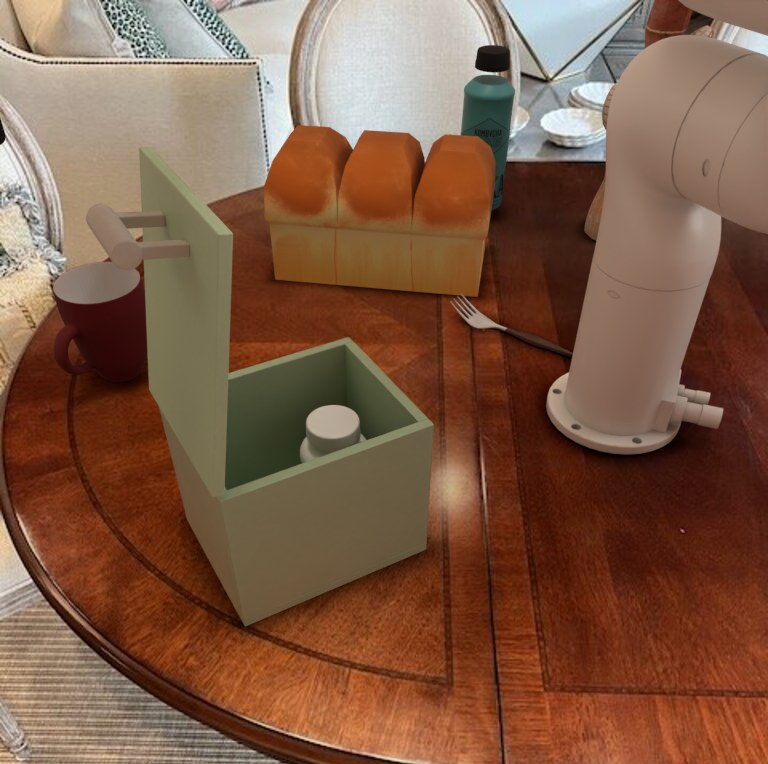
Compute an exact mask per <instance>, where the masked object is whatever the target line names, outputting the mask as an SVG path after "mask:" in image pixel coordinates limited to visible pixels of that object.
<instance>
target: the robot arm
mask: <svg viewBox="0 0 768 764" xmlns="http://www.w3.org/2000/svg"><path fill="white" fill-rule="evenodd" d="M678 1H680V2H681V3H682V4H683V5H685V6H686V7H688V8H690V9H692V10H693V12H696V13H698V14H701V15H703V16H706V17H709V18H711V19H714V20H717V21H719V22H722V23H724V24H728V25H730V26H731V25H732V26H735V27H738V28H741V29H744V30H747V31H750V32H754V33H757V34H760V35H763V36H767V37H768V0H678ZM617 82H618V83H617ZM617 82H616V83H617V85H616V88H615V90H614V93H613V96H612V99H611V102H610V106H609V111H608V118H607V127H606V130H605V172H606V176H605V175H604V176H605V191H604V200H603V207H602V214H601V220H600V225H599V230H598V236H597V240H595V241H596V242H595V246H594V250H593V255H592V260H591V264H590V269H589V274H588V279H587V284H586V288H585V294H584V299H583V303H582V308H581V313H580V317H579V322H578V328H577V333H576V337H575V341H574V346H573V352H572V353H573V356H572V357H571V361H570V366H569V369H568V370H569V371H568V372H566V373H565V374H563V375H561V376H559V377H558V378H557V379H556V380H554V382H553V383H552V384H551V386H550V387H549V390H548V392H547V396H546V403H545V404H546V405H545V408H546V413H547V416H548V418H549V421H550V422H551V423H552V424H553V425H554V427H555V428H556V429H557V430H558V431H559V432H560V433H562V434H563V435H564V436H565V437H567V439H570V440H571V441H573V442H574V443H576V444H578V445H580V446H583V447H586V448H588V449H591V450H595V451H597V452H601V453H606V454H607V453H608V454H613V455H627V456H628V455H629V456H630V455H638V454H639V455H640V454H645V453H650V452H653V451H657V450H658V449H661V448H664V447H665V446H666V445H667V444H670V443H671V442H672V441H673V440H674V439H675V437H676V436H677V434H678V432H679V430H680V428H681V425H682V422H687V423H691V424H696V425H697V426H700V427H706V428H709V429H715V430H718V429H719V428H720V424H721V421H722V419H723V414H724V407H720V406H714V405H709V402H710V398H711V392H707V391H705V390H704V391H703V390H698V389H696V390H694V389H690V388H685V387H686V385H685V384H680V383H681V376H682V369H681V368H682V365H683V363H684V360H685V356H686V354H687V350H688V347H689V344H690V341H691V338H692V335H693V333H694V330H695V329H694V328H695V326H696V322H697V319H698V316H699V313H700V311H701V307H702V304H703V302H704V298H705V296H706V292H707V289H708V286H709V283H710V279H711V278H712V275H713V272H714V269H715V266H716V263H717V260H718V256H719V252H720V246H721V237H722V218H724V219H725V220H728V221H730V222H732V223H734V224H736V225H739V226H740V227H743V228H746V229H748V230H751V231H753V232H757V233H760V234H766V235H768V55H767V54H764V53H760V52H757V51H754V50H751V49H749V48H746V47H742V46H739V45H736V44H733V43H729V42H727V41H723V40H720V39H718V38H714V37H713V38H709V37H705V36H697V35H690V34H686V35H679V36H673V37H668V38H665V39H662V40H659V41H657V42H655V43H653V44H651V45H650V46H648V47H647V48H645V47H644V49H643V50H641V51H640V52H639V53H638V54H637V55H636V56H635V57H634V58H633V59H631V61H629V64H628V65H627V66H626V67H625V69H624V70H623V72H622V73H621V75H620V77H619V79H618V81H617ZM6 136H7V135H6V131H5V128H4V125H3V122H2V120H1V118H0V146H1V145H3V144H4V143H5V141H6V138H7V137H6Z"/></svg>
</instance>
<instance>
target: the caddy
mask: <svg viewBox="0 0 768 764" xmlns="http://www.w3.org/2000/svg"><path fill="white" fill-rule="evenodd" d="M328 405H340V406H345V407H348V408H350V409H352V410H353V411H354V412H355V413H356V414H357V415H358V417H359V421H360V430H361V434H362V435H363V436H364V437H365V439H366V440H367V441H364V442H361V443H358V444H355V445H353V446H350V447H347V448H344V449H341V450H339V451H336V452H333V453H330V454H327V455H325V456H322V457H319V458H316V459H313V460H311V461H308V462H305V463H302V464H301V461H300V447H301V444H302V442H303V440H304V439H305V438H306V437H307V436H306V420H307V417H308V416H309V414H310V413H311V412H312V411H314V410H315V409H318V408H320V407H323V406H328ZM158 409H159V413H160V418H161V421H162V425H163V429H164V433H165V436H166V441H167V444H168V448H169V452H170V457H171V461H172V465H173V470H174V473H175V477H176V482H177V486H178V489H179V493H180V497H181V501H182V505H183V510H184V513H185V517H186V518H185V519H186V521H187V523H188V524H189V526H190V528H191V530H192V532H193V534H194V535H195V537H196V539H197V541H198V542H199V545H200V547H201V548H202V550H203V552H204V554H205V556H206V558H207V559H208V561H209V563H210V565H211V567H212V569H213V571H214V573H215V574H216V576H217V578H218V580H219V582H220V584H221V586H222V588H223V589H224V591H225V593H226V594H227V596H228V598H229V600H230V602H231V604H232V605H233V607H234V610H235V611H236V613H237V615H238V616H239V619H240V620H241V622H242V625H243V626H244V627H248V626H250V625H253V624H255V623H258V622H260V621H261V620H264V619H267V618H269V617H271V616H273V615H276V614H278V613H280V612H283V611H285V610H288V609H290V608H293V607H294V606H295V607H296V606H297V605H299V604H302V603H304V602H306V601H309V600H311V599H313V598H316V597H319V596H320V595H324V594H326V593H328V592H330V591H332V590H335V589H337V588H340V587H342V586H344V585H347V584H348V583H352V582H353V581H356V580H359V579H360V578H363V577H365V576H367V575H370V574H372V573H375V572H376V571H377V572H378V571H380V570H381V569H384V568H386V567H389V566H390V565H393V564H396V563H398V562H400V561H403V560H405V559H407V558H410V557H412V556H414V555H417V554H419V553H421V552H425V551H426V550H427V543H428V542H427V541H428V527H429V525H428V524H429V513H430V512H429V510H430V509H429V508H430V496H431V478H432V463H433V450H434V449H433V447H434V432H435V424H434V423H433V422H432V420H431V419H429V418H428V416H427V415H425V414H424V412H422V410H421V409H420V408H419V407H418V406H417V405H416V404H415V403H414V402H413V401H412V400H411V399H410V397H408V396H407V395H406V394H405V393H404V392H403V391H402V390H401V388H399V387H398V386H397V384H396V383H394V382H393V381H392V380H391V378H390V377H389V376H388V375H387V374H386V373H385V372H384V371H383V370H382V369H381V368H380V367H379V366H378V365H377V364H376V363H375V361H373V360H372V359H371V357H369V355H367V354H366V353H365V352H364V351H363V350H362V349H361V348H360V346H359V345H358V344H357V343H356V342H354V341H353V339H351V337H349V336H347V337H344V338H340V339H337V340H334V341H330V342H327V343H324V344H321V345H316V346H313V347H311V348H308V349H303V350H301V351H297V352H294V353H290V354H288V355H284V356H281V357H277V358H275V359H270V360H267V361H265V362H261V363H258V364H254V365H251V366H248V367H243V368H240V369H237V370H235V371H232V372H229V374H228V403H227V433H226V463H225V493H224V495H222V496H218V497H212V495H211V494H210V492H209V490H208V489H207V487H206V485H205V484H204V482H203V480H202V479H201V477H200V475H199V473H198V472H197V470H196V468H195V467H194V465H193V463H192V462H191V460H190V458H189V457H188V455H187V453H186V451H185V450H184V448H183V446H182V445H181V443H180V441H179V440H178V438H177V436H176V435H175V433H174V431H173V429H172V428H171V426H170V424H169V423H168V421H167V419H166V418H165V416H164V414H163V413H162V411H161V409H160V407H159V406H158Z"/></svg>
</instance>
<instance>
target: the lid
mask: <svg viewBox="0 0 768 764" xmlns="http://www.w3.org/2000/svg"><path fill="white" fill-rule="evenodd" d="M138 156H139V158H138V159H139V179H140V203H141V204H140V205H141V211H120V212H119V211H118V212H115V210H114V209H113V208H112V207H111V206H110V205H108V204H106V203H96V204H93V205H92V206H91V207H89V208H88V210H87V212H86V215H85V221H86V224H87V226H88V228H89V229H90V230H91V232H92V234H93V235H94V237H95V238H96V240H97V241H98V243H99V244H100V245H101V247H102V249H103V250H104V252H105V253H106V255H107V256H108V257H109V259H110V262H113V264H114V265H115V266H116V267H118V268H119V269H122V270H132V269H134V268H135V269H137V268H138V267H139V266H140V264H141V263H142V261H143V274H144V275H143V276H144V289H145V303H146V327H147V351H148V353H147V371H148V372H147V373H148V374H147V375H148V390H149V393H150V394H151V396H152V398H153V399H154V401H155V403H156V404H157V406H158V408H159V407H160V409H161V411H162V413H163V414H164V416H165V418H166V419H167V421H168V423H169V424H170V426H171V428H172V429H173V431H174V433H175V435H176V436H177V438H178V440H179V441H180V443H181V445H182V446H183V448H184V450H185V451H186V453H187V455H188V457H189V458H190V460H191V462H192V463H193V465H194V467H195V468H196V470H197V472H198V473H199V475H200V477H201V479H202V480H203V482H204V484H205V485H206V487H207V489H208V490H209V492H210V494H211V495H212V497H218V496H222V495H224V493H225V463H226V433H227V403H228V374H229V373H230V369H229V368H230V342H231V341H230V339H231V310H232V282H233V280H232V279H233V249H234V233H233V232H232V231H231V230H230V228H229V227H228V226H226V224H225V223H224V222H223V221H222V220H221V219H220V218H219V217H218V216H217V215H216V214H215V212H214V211H213V210H212V209H211V208H210V207H209V206H208V205H207V204H206V203H205V202H204V201H203V200H202V198H200V196H199V195H197V193H196V192H195V191H194V190H193V189H192V188H191V187H190V186H189V185H188V184H187V182H186V181H185V180H184V179H183V178H182V177H181V176H180V175H179V174H178V173H177V172H176V171H175V170H174V169H173V168H172V166H170V164H169V163H168V162H167V161H166V160H165V159H164V158H163V157H162V156H161V155H160V154H159V153H158V152H157V151H156V149H154V148H153V147H152V146H140V147H139V148H138ZM130 229H141V230H142V241H137V240H136V238H135V237H134V236H133V235H132V234H131V232H130V231H129V230H130ZM160 409H159V410H160Z"/></svg>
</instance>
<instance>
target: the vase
mask: <svg viewBox="0 0 768 764" xmlns="http://www.w3.org/2000/svg"><path fill="white" fill-rule="evenodd" d="M693 12H694V10H692V9H690V8H688V7H686V6H685V5H683V4H682V3H681V2H680V1H678V0H654V1H653V3H652V6H651V10H650V12H649V15H648V18H647V21H646V24H645V27H644V49H645V48H647V47H648V46H650V45H651V44H653V43H655V42H657V41H659V40H662V39H665V38H668V37H673V36H679V35H687V29H688V26H689V24H690V20H691V18H692V14H693ZM714 32H715V31H714V30H713V28H712V27H711V26H709V25H704V26H702V27H699V28H698V29H695V30H694V31H693V32H691V33H690V34H689V35H697V36H705V37H709V38H714V34H715V33H714ZM617 83H618V81H617V82H615V83H613V85H612V86H611V87H610V89H609V91H608V92H607V94H606V96H605V100H604V102H603V105H602V108H601V120H602V126H603V127H604V130H605V131H606V127H607V118H608V111H609V106H610V102H611V99H612V96H613V93H614V90H615V88H616V85H617ZM605 176H606V171H604V176H603V180H602V182H601V184H600V186H599V188H598V190H597V192H596V194H595V196H594V198H593V200H592V202H591V205H590V206H589V209H588V212H587V215H586V217H585V223H584V229H583V232H584V234H586V235H587V236H588V237H589V238H590V239H591V240H593V241H596V240H597V236H598V230H599V225H600V220H601V214H602V207H603V200H604V191H605Z"/></svg>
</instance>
